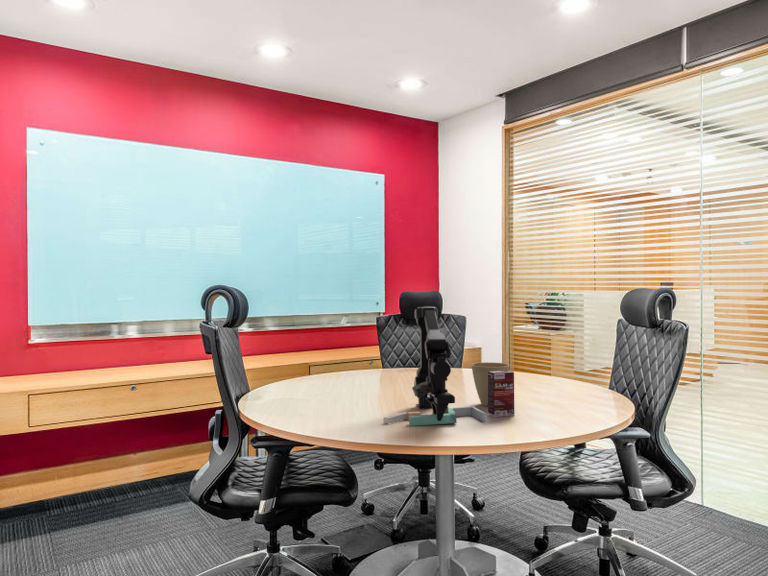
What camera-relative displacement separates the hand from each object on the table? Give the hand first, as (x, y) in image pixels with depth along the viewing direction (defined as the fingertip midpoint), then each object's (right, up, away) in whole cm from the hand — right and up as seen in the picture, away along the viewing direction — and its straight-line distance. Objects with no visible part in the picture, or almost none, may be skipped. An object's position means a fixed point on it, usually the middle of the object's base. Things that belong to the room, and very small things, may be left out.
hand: (437, 419), depth 185 cm
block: (+2, -2, +6) cm, 7 cm away
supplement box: (+24, -1, +12) cm, 27 cm away
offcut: (-8, -2, +8) cm, 11 cm away
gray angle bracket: (+10, -1, +7) cm, 12 cm away
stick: (-14, -2, +6) cm, 16 cm away
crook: (-2, -1, +3) cm, 4 cm away
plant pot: (+24, -2, +30) cm, 39 cm away
